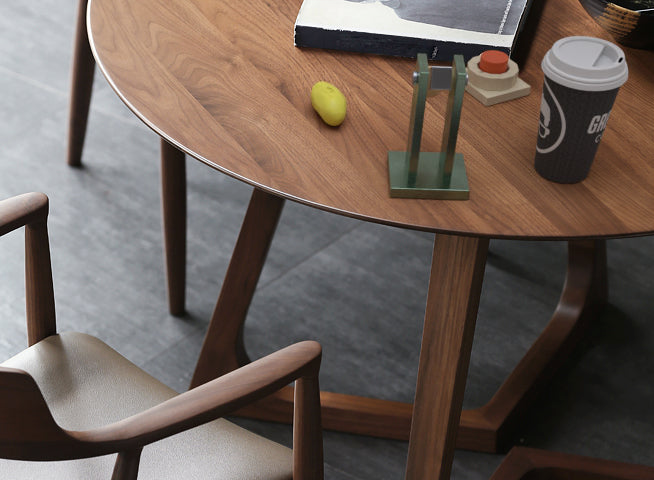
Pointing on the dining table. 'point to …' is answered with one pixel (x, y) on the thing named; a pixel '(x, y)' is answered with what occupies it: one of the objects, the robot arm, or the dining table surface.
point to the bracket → (431, 167)
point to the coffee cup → (576, 105)
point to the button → (493, 62)
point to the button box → (494, 83)
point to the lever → (439, 80)
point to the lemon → (329, 103)
